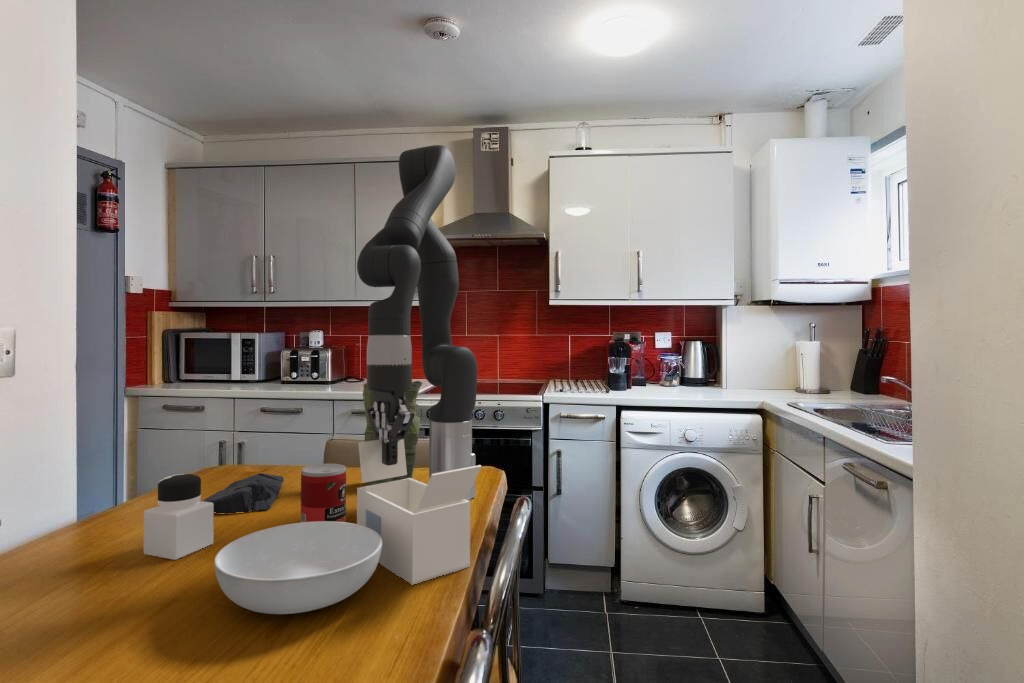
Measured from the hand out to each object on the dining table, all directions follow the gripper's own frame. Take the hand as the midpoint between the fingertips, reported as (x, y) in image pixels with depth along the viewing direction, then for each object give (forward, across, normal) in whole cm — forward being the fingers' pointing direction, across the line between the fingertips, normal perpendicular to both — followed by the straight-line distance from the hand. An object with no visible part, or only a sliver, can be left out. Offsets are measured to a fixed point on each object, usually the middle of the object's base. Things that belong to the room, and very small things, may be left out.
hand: (389, 464), depth 91 cm
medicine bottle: (+13, +20, +28) cm, 37 cm away
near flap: (0, -18, 0) cm, 18 cm away
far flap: (-1, +2, 0) cm, 2 cm away
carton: (+14, -7, 0) cm, 15 cm away
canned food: (+13, +15, +6) cm, 21 cm away
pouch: (+13, +34, -18) cm, 41 cm away
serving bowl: (+14, -9, +18) cm, 24 cm away
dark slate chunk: (+13, +44, +12) cm, 47 cm away
